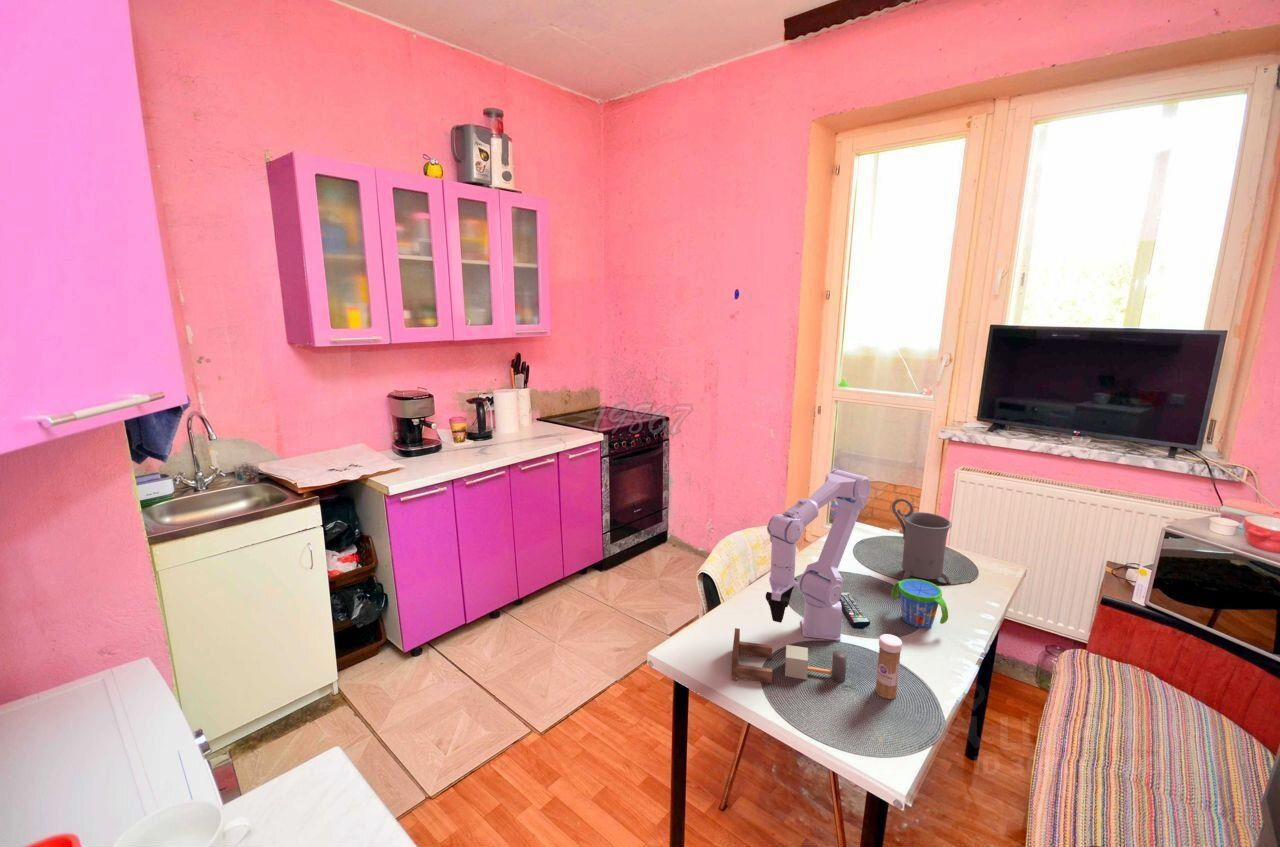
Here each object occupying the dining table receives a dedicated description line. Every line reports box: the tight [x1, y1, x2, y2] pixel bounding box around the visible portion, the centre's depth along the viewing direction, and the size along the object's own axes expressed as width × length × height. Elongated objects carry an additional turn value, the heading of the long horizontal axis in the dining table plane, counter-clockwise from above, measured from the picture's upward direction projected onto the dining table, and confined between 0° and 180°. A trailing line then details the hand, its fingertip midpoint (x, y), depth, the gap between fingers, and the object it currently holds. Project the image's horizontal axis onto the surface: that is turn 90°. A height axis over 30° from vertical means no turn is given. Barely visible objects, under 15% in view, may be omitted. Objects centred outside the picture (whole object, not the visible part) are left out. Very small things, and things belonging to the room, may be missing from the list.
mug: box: [891, 498, 953, 585], centre depth 170 cm, size 19×15×25 cm
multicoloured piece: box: [784, 644, 847, 683], centre depth 127 cm, size 14×5×6 cm, turn 74°
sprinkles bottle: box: [874, 633, 903, 700], centre depth 119 cm, size 5×5×13 cm
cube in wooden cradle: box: [730, 627, 773, 684], centre depth 130 cm, size 9×12×6 cm
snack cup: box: [891, 578, 949, 628], centre depth 147 cm, size 16×10×10 cm
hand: (780, 613), depth 134 cm, fingers open, 7 cm apart
